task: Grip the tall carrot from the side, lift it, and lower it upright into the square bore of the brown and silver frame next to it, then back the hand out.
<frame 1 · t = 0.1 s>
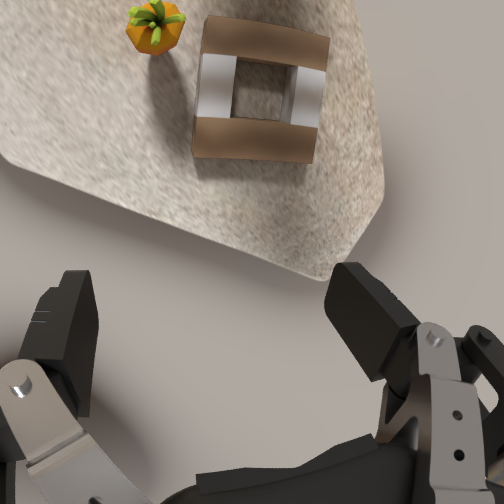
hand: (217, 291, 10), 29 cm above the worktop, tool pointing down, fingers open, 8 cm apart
brown and silver frame: (255, 90, 34), on the worktop
carrot: (157, 43, 28), on the worktop
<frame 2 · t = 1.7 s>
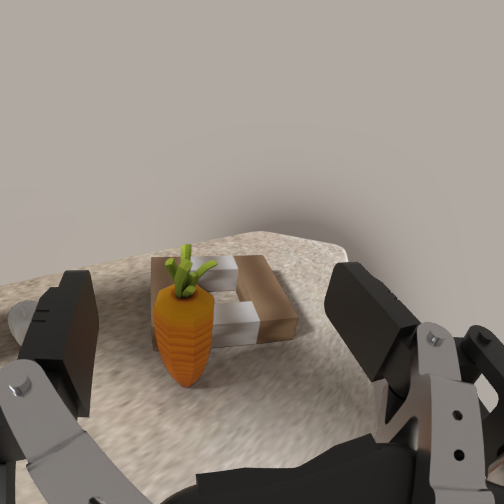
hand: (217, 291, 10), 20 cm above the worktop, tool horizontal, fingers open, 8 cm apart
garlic: (34, 338, 29), on the worktop
brown and silver frame: (215, 307, 40), on the worktop
carrot: (186, 386, 28), on the worktop
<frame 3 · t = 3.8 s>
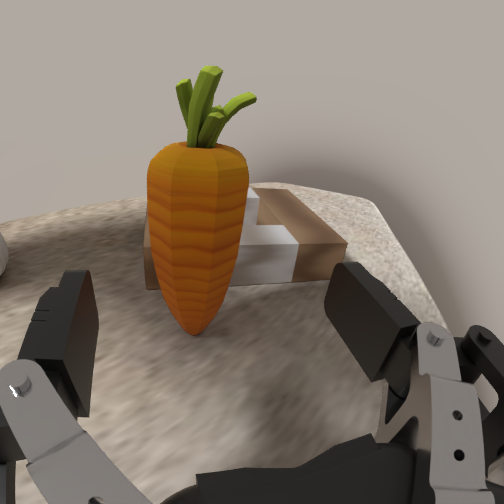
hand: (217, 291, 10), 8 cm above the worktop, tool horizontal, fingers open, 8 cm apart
brown and silver frame: (231, 243, 30), on the worktop
carrot: (193, 336, 19), on the worktop
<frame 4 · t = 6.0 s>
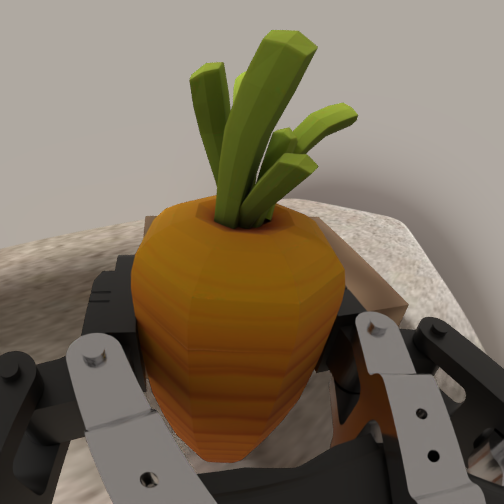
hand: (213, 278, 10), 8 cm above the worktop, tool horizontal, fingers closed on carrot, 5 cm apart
brown and silver frame: (253, 295, 23), on the worktop
carrot: (217, 456, 12), on the worktop, touching gripper
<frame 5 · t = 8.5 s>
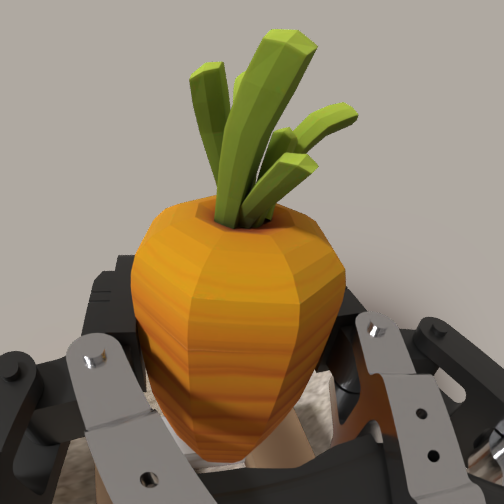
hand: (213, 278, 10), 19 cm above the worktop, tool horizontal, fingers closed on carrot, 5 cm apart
carrot: (218, 456, 12), point 11 cm above the worktop, touching gripper
when the fingers open (9 cm above the worktop, at t = 11.0 s): carrot drops 1 cm, on the worktop.
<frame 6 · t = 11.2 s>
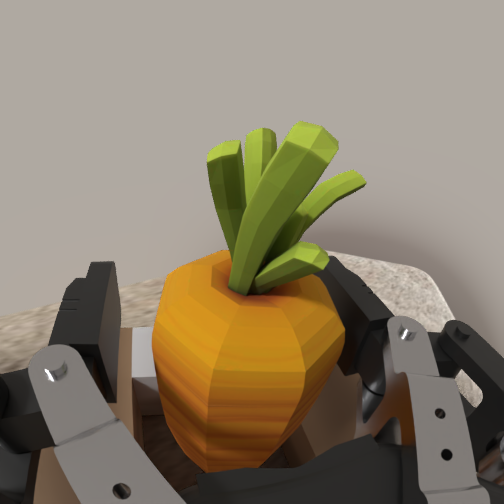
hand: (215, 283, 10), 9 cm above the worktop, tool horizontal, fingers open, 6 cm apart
brown and silver frame: (217, 465, 13), on the worktop
carrot: (221, 469, 13), on the worktop
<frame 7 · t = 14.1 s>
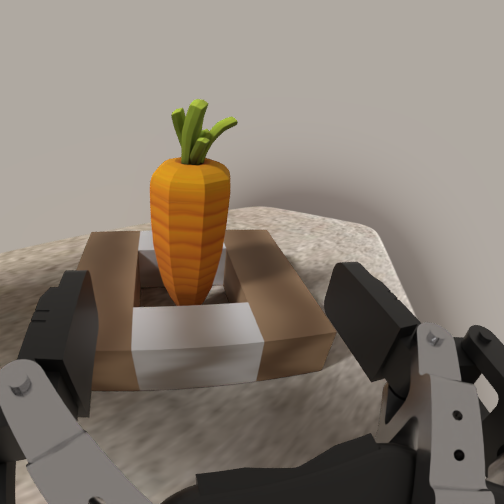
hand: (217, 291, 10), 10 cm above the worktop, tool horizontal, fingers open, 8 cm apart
brown and silver frame: (185, 313, 23), on the worktop
carrot: (188, 316, 23), on the worktop
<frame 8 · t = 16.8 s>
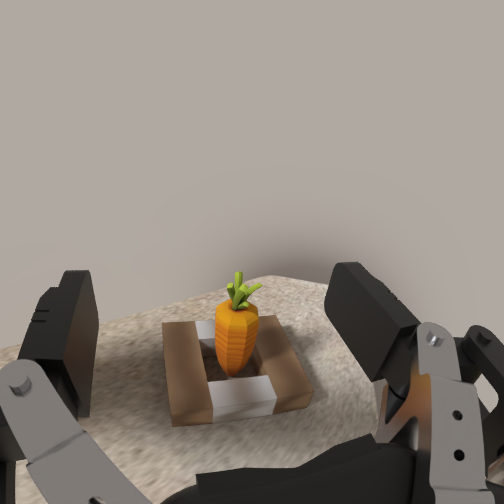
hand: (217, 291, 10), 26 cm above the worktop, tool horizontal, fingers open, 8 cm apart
brown and silver frame: (229, 374, 38), on the worktop
carrot: (230, 376, 38), on the worktop
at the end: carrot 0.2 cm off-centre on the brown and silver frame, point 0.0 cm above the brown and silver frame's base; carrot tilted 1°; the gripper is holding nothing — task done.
